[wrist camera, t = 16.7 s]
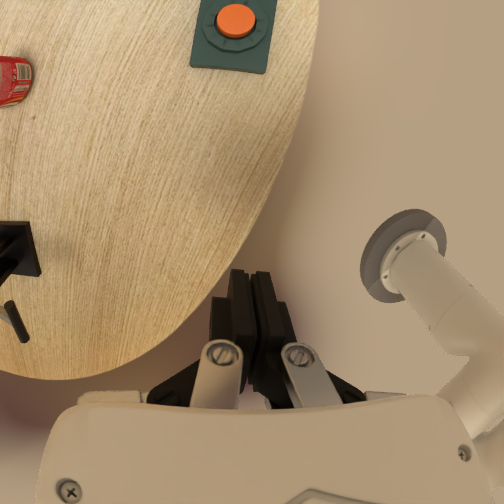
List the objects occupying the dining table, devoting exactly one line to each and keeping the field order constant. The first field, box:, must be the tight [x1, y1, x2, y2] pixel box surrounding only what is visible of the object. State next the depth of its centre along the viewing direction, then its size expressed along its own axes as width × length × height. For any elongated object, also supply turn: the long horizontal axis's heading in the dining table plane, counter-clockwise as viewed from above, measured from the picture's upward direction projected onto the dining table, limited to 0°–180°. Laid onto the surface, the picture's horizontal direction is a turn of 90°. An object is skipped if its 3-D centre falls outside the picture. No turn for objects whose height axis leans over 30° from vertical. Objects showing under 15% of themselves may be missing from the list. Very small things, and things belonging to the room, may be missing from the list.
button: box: [217, 4, 255, 38], centre depth 21 cm, size 4×4×2 cm
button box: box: [190, 0, 277, 74], centre depth 23 cm, size 10×8×4 cm
